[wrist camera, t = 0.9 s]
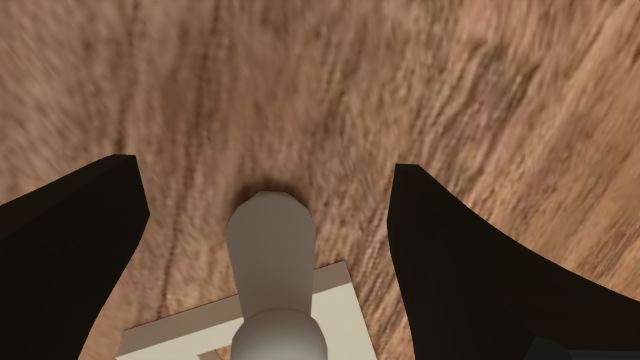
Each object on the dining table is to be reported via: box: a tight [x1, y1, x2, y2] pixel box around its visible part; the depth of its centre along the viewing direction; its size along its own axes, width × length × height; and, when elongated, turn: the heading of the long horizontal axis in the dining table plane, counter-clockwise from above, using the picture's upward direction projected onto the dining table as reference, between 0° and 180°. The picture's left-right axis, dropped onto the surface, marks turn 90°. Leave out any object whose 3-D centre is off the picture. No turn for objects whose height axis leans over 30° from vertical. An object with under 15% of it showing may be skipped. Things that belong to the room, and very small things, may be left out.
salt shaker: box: [227, 191, 328, 360], centre depth 22 cm, size 6×6×13 cm
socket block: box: [115, 260, 377, 360], centre depth 33 cm, size 18×12×2 cm, turn 106°
